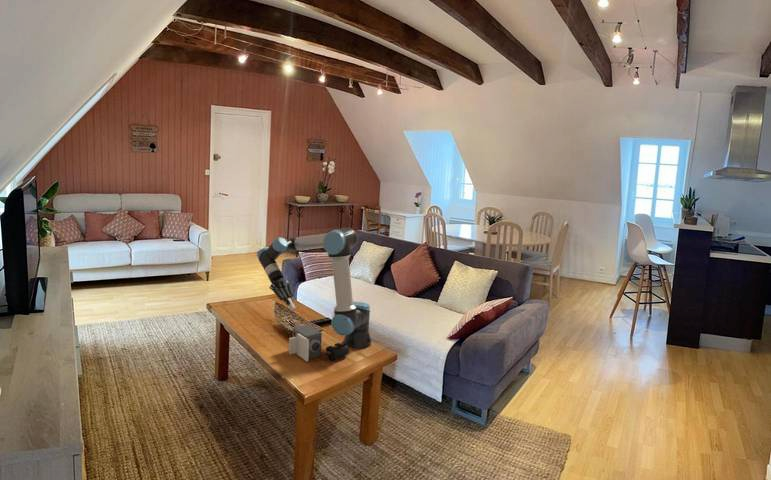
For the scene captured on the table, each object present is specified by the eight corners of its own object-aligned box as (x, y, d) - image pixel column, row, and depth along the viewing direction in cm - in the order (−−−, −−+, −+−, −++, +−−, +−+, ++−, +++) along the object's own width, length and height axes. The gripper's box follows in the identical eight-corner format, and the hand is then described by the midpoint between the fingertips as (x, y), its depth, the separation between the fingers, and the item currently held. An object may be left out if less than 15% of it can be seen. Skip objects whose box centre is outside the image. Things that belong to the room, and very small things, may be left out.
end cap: (334, 363, 242) (335, 350, 241) (324, 359, 247) (325, 346, 246) (348, 357, 250) (349, 345, 249) (339, 353, 254) (339, 341, 253)
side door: (298, 353, 250) (299, 333, 248) (308, 360, 242) (309, 339, 240) (288, 356, 246) (289, 335, 244) (298, 363, 238) (298, 342, 237)
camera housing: (307, 345, 262) (308, 324, 259) (323, 356, 249) (323, 334, 247) (292, 349, 256) (292, 327, 254) (307, 360, 243) (308, 337, 241)
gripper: (281, 275, 273) (300, 310, 264) (261, 279, 264) (280, 315, 255) (286, 267, 269) (306, 302, 260) (266, 271, 259) (285, 308, 251)
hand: (293, 309), depth 258 cm, fingers closed
